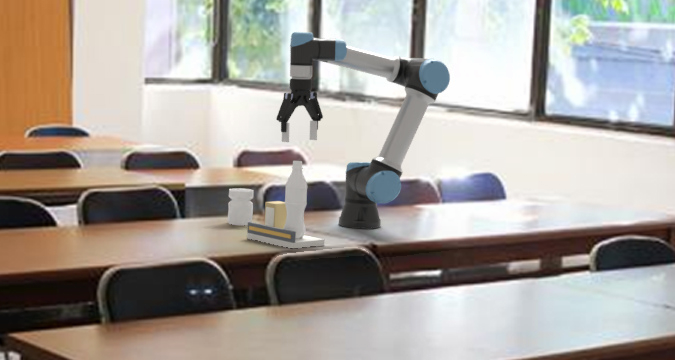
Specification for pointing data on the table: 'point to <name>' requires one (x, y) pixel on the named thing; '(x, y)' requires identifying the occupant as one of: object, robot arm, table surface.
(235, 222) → the white jar
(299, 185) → the water bottle
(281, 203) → the tea box
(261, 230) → the shelf board
